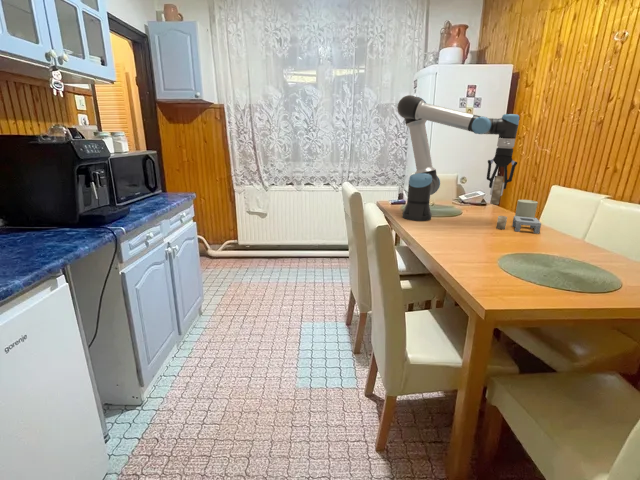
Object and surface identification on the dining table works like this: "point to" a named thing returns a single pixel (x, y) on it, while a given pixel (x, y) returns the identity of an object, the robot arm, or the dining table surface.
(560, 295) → the dining table surface
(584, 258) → the dining table surface
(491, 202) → the long dowel
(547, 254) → the dining table surface
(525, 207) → the can
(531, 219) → the square frame with posts
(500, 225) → the short dowel
